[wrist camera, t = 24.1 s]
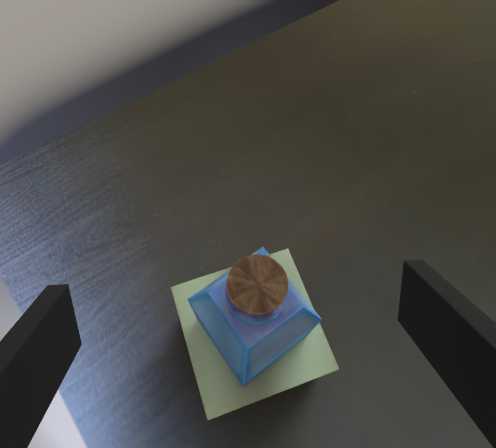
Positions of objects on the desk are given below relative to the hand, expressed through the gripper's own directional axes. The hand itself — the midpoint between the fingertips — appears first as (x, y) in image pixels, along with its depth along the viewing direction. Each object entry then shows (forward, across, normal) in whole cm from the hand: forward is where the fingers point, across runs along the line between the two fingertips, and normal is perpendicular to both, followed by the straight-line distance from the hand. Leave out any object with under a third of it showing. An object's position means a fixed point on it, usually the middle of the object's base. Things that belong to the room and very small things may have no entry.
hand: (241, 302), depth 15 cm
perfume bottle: (+13, +1, -10) cm, 16 cm away
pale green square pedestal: (+18, +1, -16) cm, 24 cm away
